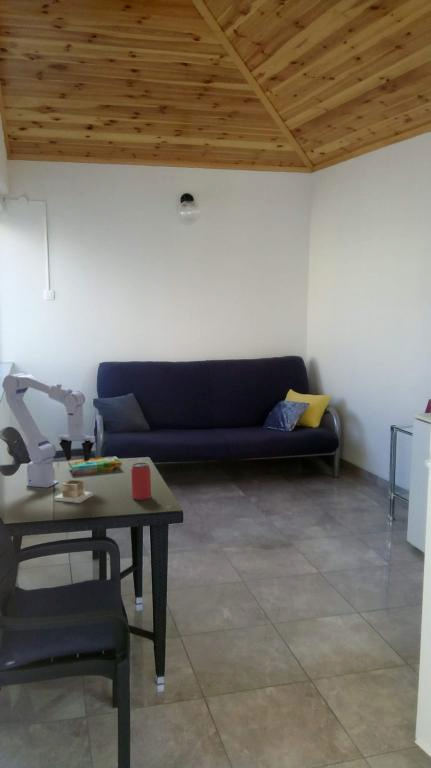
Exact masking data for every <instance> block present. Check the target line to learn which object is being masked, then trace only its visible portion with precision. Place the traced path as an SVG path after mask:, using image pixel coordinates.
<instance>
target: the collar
mask: <svg viewBox="0 0 431 768" xmlns="http://www.w3.org/2000/svg"><path fill="white" fill-rule="evenodd" d="M61 488H62V489H61V490H62V491H61V492H62V493H61V494H63V496H64V497H75V498H77V497H79V496H80V495H82V494H84V493H85V492H86V490H85V489H86V488H85V481H84V480H80V479H79V480H77V479H69V480H67V481H65V482H63V483H61Z"/></svg>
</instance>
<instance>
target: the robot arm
mask: <svg viewBox="0 0 431 768" xmlns="http://www.w3.org/2000/svg"><path fill="white" fill-rule="evenodd" d="M1 387H2V388H3V391H4V392H5V393H4V394H5V400H6V403H7V405H8V406H9V408H10V410H11V412H12V413H13V416H14V417H15V420H16V422H17V423H18V424H19V427H20V429H21V430H22V432H23V434H24V436H25V438H26V440H27V441H28V442H27V446H26V449H27V451H28V456H29V459H30V462H28V464H27V467H26V477H27V478H26V479H27V484H26V486H27V487H38V488H49V487H51V486H54V485H56V484H58V483H59V482H60V481H59V480H55V476H54V472H55V471H54V457H55V456H56V453H57V448H56V445H55V444H54V443H52V442H51V441H50V439H49V438H48V437H47V436H45V435H43V434H42V433H41V430H40V429H39V426H38V425H37V423H36V421H35V419H34V418H33V416H32V414H31V412H30V410H29V409H28V407H27V404H26V403H25V402H24V396H25V394H26V393H27V391H28V390H29V389H30V388H31V389H34V390H37V391H39V392H42V393H45V394H47V395H48V398H49V399H51V400H53V401H56V402H58V403H61V404H62V405H64V407H65V409H66V414H67V415H66V417H67V432H68V433H67V434H59V435H57V439H58V442H59V446H60V447H61V449H62V450H63V453H64V456H65V459H66V461H70V460H72V444H73V442H82V443H81V446H82V450H83V459H84V460H85V461H88V460H89V458H90V455H91V451H92V449H93V446H94V444H95V442H96V436H94V435H87V434H85V428H84V425H85V424H84V408H83V405H84V404H85V402H86V395H84V393H82V392H81V391H80V390H74V391H73V389H72V388H67V387H64V386H63V385H62V384H61V383H55V384H53V385H51V384H49V383H47V382H45V381H43V380H41V379H39V378H37V377H35V376H33V375H32V374H30V373H27V372H25V371H24V372H20V373H15V374H8V375H6V376H5V377H4V378H3V382H2V384H1Z"/></svg>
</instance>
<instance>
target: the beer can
mask: <svg viewBox="0 0 431 768" xmlns="http://www.w3.org/2000/svg"><path fill="white" fill-rule="evenodd" d="M130 471H131V492H132V495H131V496H132V498H133V499H134V500H137V501H145V500H148V499H150V498H151V497H152V481H151V480H152V479H151V469H150V465H149V463H147V462H137V463H133V464H132V467H131V470H130Z"/></svg>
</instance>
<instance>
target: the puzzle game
mask: <svg viewBox="0 0 431 768" xmlns="http://www.w3.org/2000/svg"><path fill="white" fill-rule="evenodd" d="M67 461H68V463H67V464H68V465H69V468H70V470H71V471H72V473H73V474H74V476H80V475H91V474H99V473H109V471H110V472H113V471H114V468H118V467H121V466H122V464H123V463H122V461H121V460H120V459H119V458H118V457H117V455H116V456H105V457H95V458H94V457H93V458H90V457H89V460H88V461H85V460H84V458H83V459H73V460H72V459H70V460H67Z"/></svg>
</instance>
